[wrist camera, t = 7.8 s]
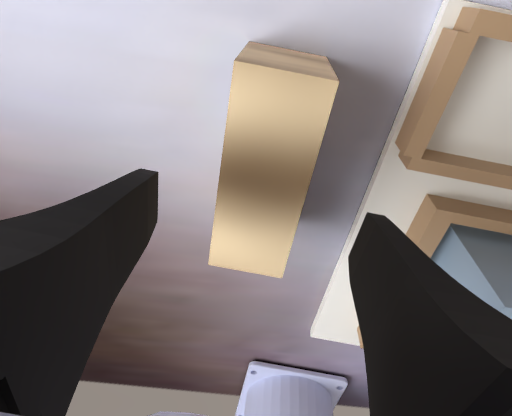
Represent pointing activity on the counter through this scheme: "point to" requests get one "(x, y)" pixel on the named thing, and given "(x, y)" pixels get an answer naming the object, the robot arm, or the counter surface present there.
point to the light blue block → (479, 263)
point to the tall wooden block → (269, 155)
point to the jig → (440, 149)
